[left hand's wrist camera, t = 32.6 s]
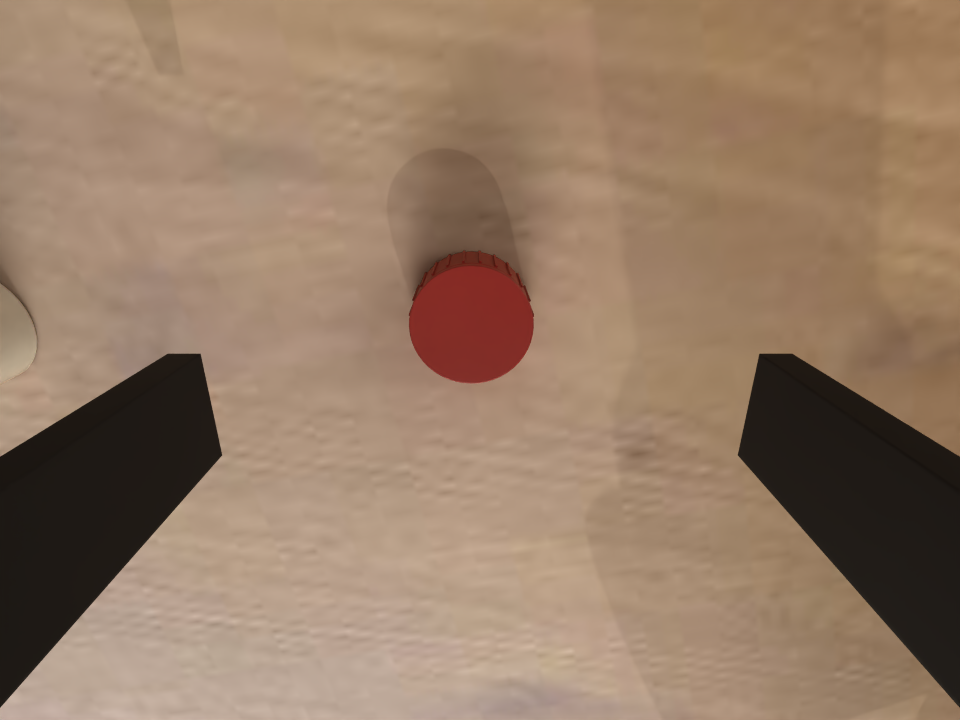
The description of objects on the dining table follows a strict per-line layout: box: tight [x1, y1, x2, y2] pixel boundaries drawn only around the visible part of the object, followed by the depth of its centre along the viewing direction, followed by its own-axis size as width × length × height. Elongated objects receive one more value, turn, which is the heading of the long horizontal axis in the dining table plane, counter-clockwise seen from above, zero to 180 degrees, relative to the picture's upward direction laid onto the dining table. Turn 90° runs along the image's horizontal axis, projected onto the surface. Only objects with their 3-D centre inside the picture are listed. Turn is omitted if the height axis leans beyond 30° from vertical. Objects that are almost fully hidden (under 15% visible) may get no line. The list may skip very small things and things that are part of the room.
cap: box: [409, 251, 534, 383], centre depth 17 cm, size 4×4×2 cm
